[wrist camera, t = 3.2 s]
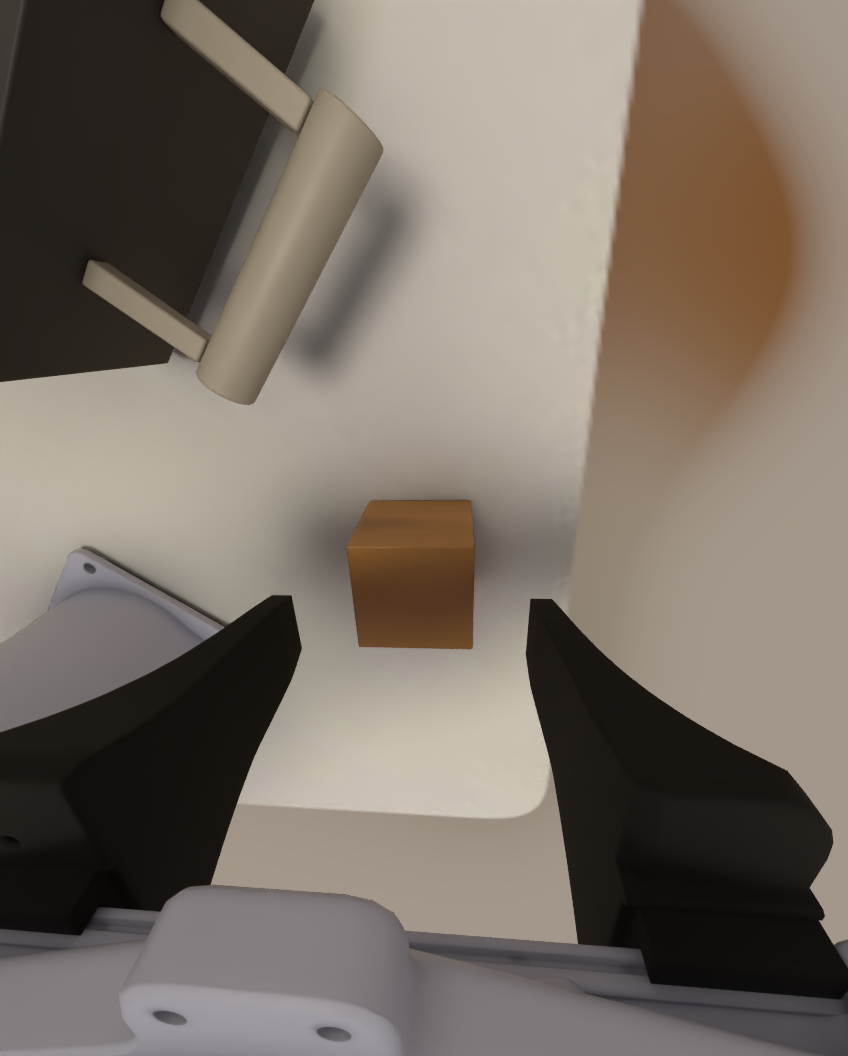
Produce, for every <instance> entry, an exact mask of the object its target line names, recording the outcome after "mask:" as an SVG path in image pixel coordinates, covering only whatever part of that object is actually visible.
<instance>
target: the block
mask: <svg viewBox="0 0 848 1056" xmlns="http://www.w3.org/2000/svg"><path fill="white" fill-rule="evenodd" d="M474 549H475V547H474V535H473V522H472V510H471V501H470V500H439V501H370V502H369V504H368V506H367V508H366V510H365V512H364V514H363V516H362V518H361V520H360V522H359V524H358V526H357V528H356V530H355V532H354V533H353V535H352V537H351V539H350V541H349V543H348V545H347V554H348V562H349V570H350V579H351V587H352V595H353V603H354V611H355V619H356V627H357V635H358V644H359V647H392V648H439V649H472V648H473V604H474Z"/></svg>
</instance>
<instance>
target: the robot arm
mask: <svg viewBox="0 0 848 1056" xmlns="http://www.w3.org/2000/svg"><path fill="white" fill-rule="evenodd" d="M92 565H93V566H94V567H95V568H94V567H93V566H92ZM301 650H302V647H301V642H300V637H299V632H298V626H297V621H296V616H295V611H294V606H293V601H292V596H288V595H272V596H270V597H269V598H267V599H265V600H264V601H262V602H261V603H259V604H258V605H256V606H255V607H253V608H252V609H251V610H249V611H248V612H246V613H245V614H243V615H242V616H241V617H239V618H238V619H236V620H235V621H233V622H232V623H230V624H229V625H228V626H226V627H224V626H222V625H220V624H218V623H217V622H215V621H213V620H211V619H210V618H208V617H206V616H204V615H202V614H201V613H199V612H197V611H195V610H193V609H192V608H190V607H188V606H186V605H185V604H183V603H181V602H179V601H177V600H176V599H174V598H172V597H170V596H169V595H167V594H165V593H163V592H161V591H160V590H158V589H156V588H154V587H152V586H151V585H149V584H147V583H145V582H144V581H142V580H140V579H138V578H136V577H135V576H133V575H131V574H129V573H128V572H126V571H124V570H122V569H120V568H119V567H117V566H115V565H113V564H111V563H110V562H108V561H106V560H104V559H103V558H101V557H99V556H97V555H95V554H94V553H92V552H90V551H88V550H86V549H80V548H79V549H77V550H75V551H73V552H71V553H70V554H69V555H68V558H67V560H66V563H65V566H64V568H63V571H62V574H61V576H60V579H59V582H58V584H57V587H56V590H55V592H54V595H53V598H52V600H51V603H50V606H49V608H48V611H47V613H45V614H44V615H42V616H41V617H39V618H38V619H36V620H35V621H34V622H32V623H31V624H29V625H28V626H26V627H25V628H23V629H22V630H20V631H19V632H17V633H16V634H15V635H13V636H12V637H10V638H9V639H7V640H6V641H4V642H3V643H1V644H0V1056H848V940H845V941H841V942H838V943H836V944H835V945H833V943H832V942H831V940H830V938H829V937H828V935H827V933H826V932H825V930H824V929H823V927H822V925H821V924H820V922H819V920H823V918H824V917H825V915H824V911H823V909H822V907H821V905H820V904H819V902H818V901H817V899H816V898H815V896H814V894H813V893H812V891H811V889H810V886H811V884H812V883H813V881H814V879H815V878H816V876H817V875H818V873H819V872H820V870H821V868H822V867H823V865H824V864H825V862H826V861H827V859H828V856H829V854H830V851H831V848H832V845H833V836H832V830H831V828H830V827H829V825H828V824H827V822H826V821H825V820H824V818H823V817H822V815H821V814H820V813H819V811H818V810H817V808H816V807H815V806H814V804H813V803H812V801H811V800H810V799H809V797H808V796H807V795H806V793H805V792H804V791H803V789H802V788H801V787H800V786H799V785H798V783H797V782H796V781H795V780H794V778H793V777H792V776H791V775H790V774H789V773H788V771H786V770H784V769H782V768H780V767H778V766H776V765H774V764H772V763H770V762H768V761H766V760H764V759H762V758H760V757H758V756H756V755H754V754H752V753H750V752H748V751H746V750H744V749H742V748H740V747H738V746H736V745H734V744H732V743H730V742H729V741H727V740H725V739H723V738H722V737H720V736H718V735H716V734H714V733H713V732H711V731H709V730H707V729H706V728H704V727H702V726H701V725H699V724H697V723H696V722H694V721H692V720H691V719H689V718H687V717H686V716H684V715H683V714H681V713H680V712H678V711H677V710H675V709H673V708H672V707H670V706H669V705H668V704H666V703H665V702H663V701H662V700H660V699H658V698H657V697H656V696H654V695H653V694H651V693H650V692H649V691H647V690H646V689H645V688H644V687H642V686H641V685H639V684H638V683H637V682H636V681H635V680H633V679H632V678H630V677H629V676H628V675H627V674H626V673H624V672H623V671H622V670H621V669H620V668H619V667H617V666H616V665H615V664H614V663H613V662H612V661H611V660H610V659H608V658H607V657H606V656H605V655H604V654H603V653H602V652H601V651H600V650H599V649H598V648H597V647H596V646H595V645H594V644H593V643H592V642H591V641H590V640H589V639H588V638H587V637H586V636H585V635H584V634H583V633H582V632H581V631H580V630H579V629H578V628H577V627H576V625H575V624H574V623H573V622H572V621H571V620H570V619H569V618H568V616H567V615H566V614H565V613H564V612H563V611H562V610H561V608H560V607H559V606H558V605H557V604H556V603H555V602H554V601H553V600H552V599H531V600H530V612H529V624H528V636H527V647H526V658H527V666H528V673H529V680H530V686H531V690H532V694H533V698H534V702H535V706H536V709H537V713H538V717H539V721H540V724H541V728H542V732H543V736H544V739H545V743H546V747H547V751H548V754H549V758H550V763H551V767H552V772H553V776H554V782H555V788H556V794H557V800H558V806H559V812H560V818H561V825H562V832H563V838H564V845H565V851H566V858H567V865H568V872H569V879H570V886H571V893H572V900H573V908H574V916H575V923H576V931H577V939H578V944H568V943H555V942H543V941H530V940H516V939H503V938H491V937H478V936H465V935H453V934H439V933H427V932H413V931H405V930H404V928H403V926H402V925H401V923H400V921H399V920H398V918H397V917H396V915H395V914H394V912H392V911H390V910H388V909H387V908H385V907H383V906H381V905H380V904H378V903H376V902H374V901H373V900H368V899H364V898H359V897H355V896H350V895H345V894H333V893H321V892H306V891H292V890H279V889H265V888H251V887H236V886H222V885H211V881H212V878H213V875H214V872H215V868H216V865H217V862H218V859H219V856H220V853H221V849H222V846H223V843H224V840H225V837H226V834H227V831H228V828H229V825H230V822H231V819H232V816H233V813H234V810H235V808H236V805H237V802H238V799H239V796H240V793H241V791H242V788H243V785H244V783H245V780H246V777H247V774H248V772H249V769H250V766H251V764H252V761H253V759H254V757H255V754H256V752H257V750H258V748H259V745H260V743H261V741H262V739H263V737H264V735H265V733H266V731H267V729H268V727H269V725H270V723H271V721H272V719H273V717H274V715H275V713H276V711H277V709H278V707H279V705H280V703H281V701H282V698H283V696H284V694H285V692H286V690H287V688H288V686H289V684H290V682H291V680H292V677H293V674H294V671H295V668H296V666H297V662H298V659H299V656H300V653H301Z"/></svg>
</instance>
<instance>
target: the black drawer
mask: <svg viewBox="0 0 848 1056" xmlns="http://www.w3.org/2000/svg"><path fill="white" fill-rule="evenodd" d="M313 2H314V0H0V382H5V381H14V380H22V379H31V378H40V377H49V376H58V375H67V374H76V373H85V372H93V371H102V370H111V369H120V368H129V367H138V366H147V365H155V364H164V363H168V361H169V359H170V356H171V354H172V351H173V349H174V347H175V348H176V349H178V350H179V351H181V352H182V353H184V354H185V355H187V356H188V357H189V358H191V359H192V360H194V361H196V362H200V364H199V366H198V368H197V371H196V374H197V377H198V379H199V380H200V381H201V382H202V383H203V384H204V385H205V386H206V387H207V388H209V389H210V390H211V391H213V392H215V393H216V394H218V395H220V396H221V397H223V398H226V399H228V400H230V401H233V402H236V403H239V404H244V405H250V404H253V403H254V402H255V401H256V399H257V397H258V395H259V393H260V391H261V389H262V387H263V385H264V383H265V381H266V379H267V377H268V375H269V373H270V371H271V370H272V368H273V366H274V364H275V362H276V360H277V358H278V356H279V354H280V352H281V350H282V348H283V346H284V344H285V342H286V340H287V338H288V336H289V334H290V333H291V331H292V329H293V327H294V325H295V323H296V321H297V319H298V317H299V315H300V313H301V311H302V309H303V307H304V305H305V303H306V301H307V299H308V297H309V296H310V294H311V292H312V290H313V288H314V286H315V284H316V282H317V280H318V278H319V276H320V274H321V272H322V270H323V268H324V266H325V264H326V262H327V260H328V259H329V257H330V255H331V253H332V251H333V249H334V247H335V245H336V243H337V241H338V239H339V237H340V235H341V233H342V231H343V229H344V227H345V225H346V223H347V222H348V220H349V218H350V216H351V214H352V212H353V210H354V208H355V206H356V204H357V202H358V200H359V198H360V196H361V194H362V192H363V190H364V188H365V186H366V185H367V183H368V181H369V179H370V177H371V175H372V173H373V171H374V169H375V167H376V165H377V163H378V161H379V159H380V157H381V155H382V153H383V147H382V145H381V143H380V141H379V140H378V138H377V137H376V136H375V134H374V133H373V132H372V131H371V130H370V128H369V127H368V126H367V125H366V124H365V123H364V122H363V121H362V120H361V119H360V118H359V117H358V116H357V115H356V114H355V113H354V112H353V111H352V110H351V109H350V108H349V107H348V106H347V105H346V104H344V103H343V102H342V101H341V100H340V99H338V98H337V97H336V96H334V95H333V94H332V93H330V92H328V91H326V90H324V89H320V90H319V91H318V93H317V96H316V98H315V100H314V102H313V101H312V99H311V98H310V96H309V95H308V94H307V93H305V92H304V91H303V90H302V89H301V88H300V87H298V86H297V85H296V84H295V83H294V82H293V81H292V80H290V79H289V78H288V77H287V76H286V75H285V72H286V69H287V67H288V64H289V62H290V59H291V57H292V54H293V52H294V49H295V47H296V44H297V42H298V39H299V37H300V34H301V32H302V29H303V27H304V24H305V22H306V20H307V17H308V15H309V12H310V10H311V7H312V5H313ZM269 113H270V114H271V115H272V116H273V117H274V118H276V119H277V120H278V121H279V122H280V123H282V124H283V125H284V126H285V127H286V128H288V129H289V130H290V131H291V132H292V133H294V134H295V135H296V136H297V137H298V139H297V142H296V144H295V146H294V148H293V151H292V153H291V155H290V158H289V160H288V162H287V164H286V167H285V169H284V171H283V174H282V176H281V178H280V180H279V183H278V185H277V187H276V190H275V192H274V194H273V197H272V199H271V201H270V203H269V206H268V208H267V210H266V213H265V215H264V217H263V219H262V222H261V224H260V226H259V229H258V231H257V233H256V235H255V238H254V240H253V242H252V245H251V247H250V249H249V251H248V254H247V256H246V258H245V261H244V263H243V265H242V268H241V270H240V272H239V274H238V277H237V279H236V281H235V284H234V286H233V288H232V290H231V293H230V295H229V297H228V300H227V302H226V304H225V306H224V309H223V311H222V313H221V316H220V318H219V320H218V322H217V325H216V327H215V329H214V332H213V334H212V336H211V335H210V334H208V333H207V332H206V331H204V330H203V329H201V328H200V327H198V326H197V325H196V324H194V323H193V322H191V321H190V320H189V319H187V318H186V317H187V314H188V312H189V309H190V307H191V304H192V302H193V299H194V297H195V294H196V292H197V289H198V287H199V285H200V282H201V280H202V277H203V275H204V272H205V270H206V267H207V265H208V262H209V260H210V257H211V255H212V252H213V250H214V247H215V245H216V242H217V240H218V237H219V235H220V233H221V230H222V228H223V225H224V223H225V220H226V218H227V215H228V213H229V210H230V208H231V205H232V203H233V200H234V198H235V195H236V193H237V190H238V188H239V185H240V183H241V180H242V178H243V176H244V173H245V171H246V168H247V166H248V163H249V161H250V158H251V156H252V153H253V151H254V148H255V146H256V143H257V141H258V138H259V136H260V133H261V131H262V128H263V126H264V124H265V121H266V119H267V116H268V114H269Z"/></svg>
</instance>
